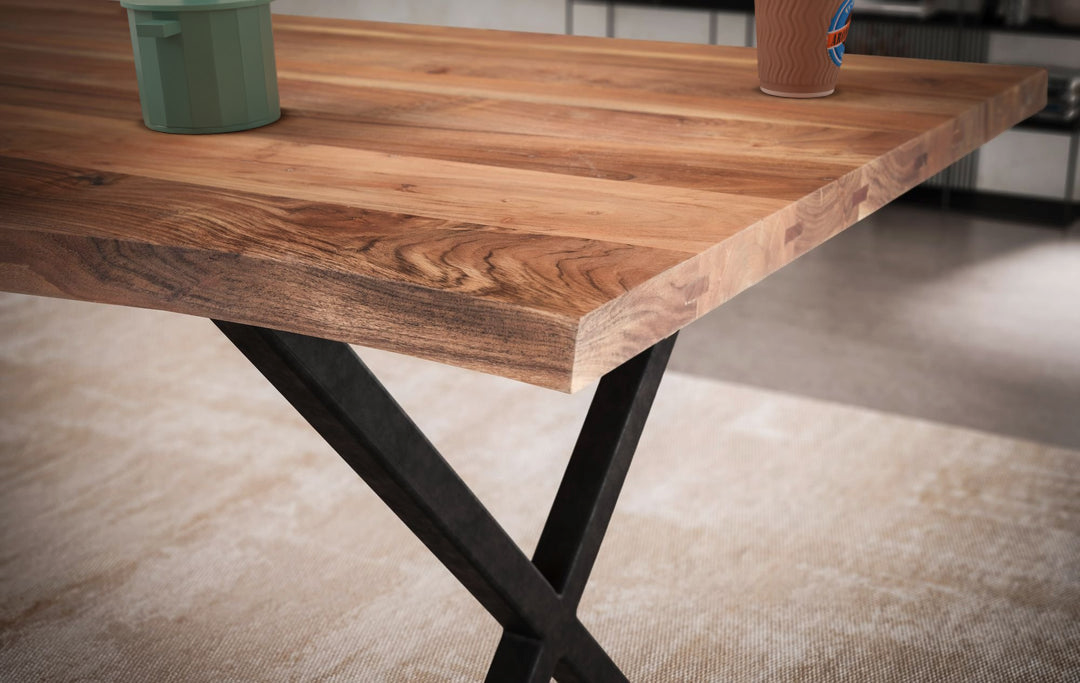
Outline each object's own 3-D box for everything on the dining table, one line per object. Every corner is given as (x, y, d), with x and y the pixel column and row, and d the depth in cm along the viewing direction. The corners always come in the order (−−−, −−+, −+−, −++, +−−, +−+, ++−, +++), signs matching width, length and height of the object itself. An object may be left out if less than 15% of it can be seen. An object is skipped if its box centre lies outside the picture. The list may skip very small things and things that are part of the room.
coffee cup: (848, 104, 106) (862, -35, 101) (734, 98, 108) (742, -37, 104) (855, 83, 115) (868, -45, 110) (750, 78, 117) (758, -47, 113)
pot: (101, 138, 96) (81, 13, 92) (199, 97, 111) (185, -11, 107) (230, 144, 94) (216, 16, 90) (312, 101, 109) (303, -10, 105)
